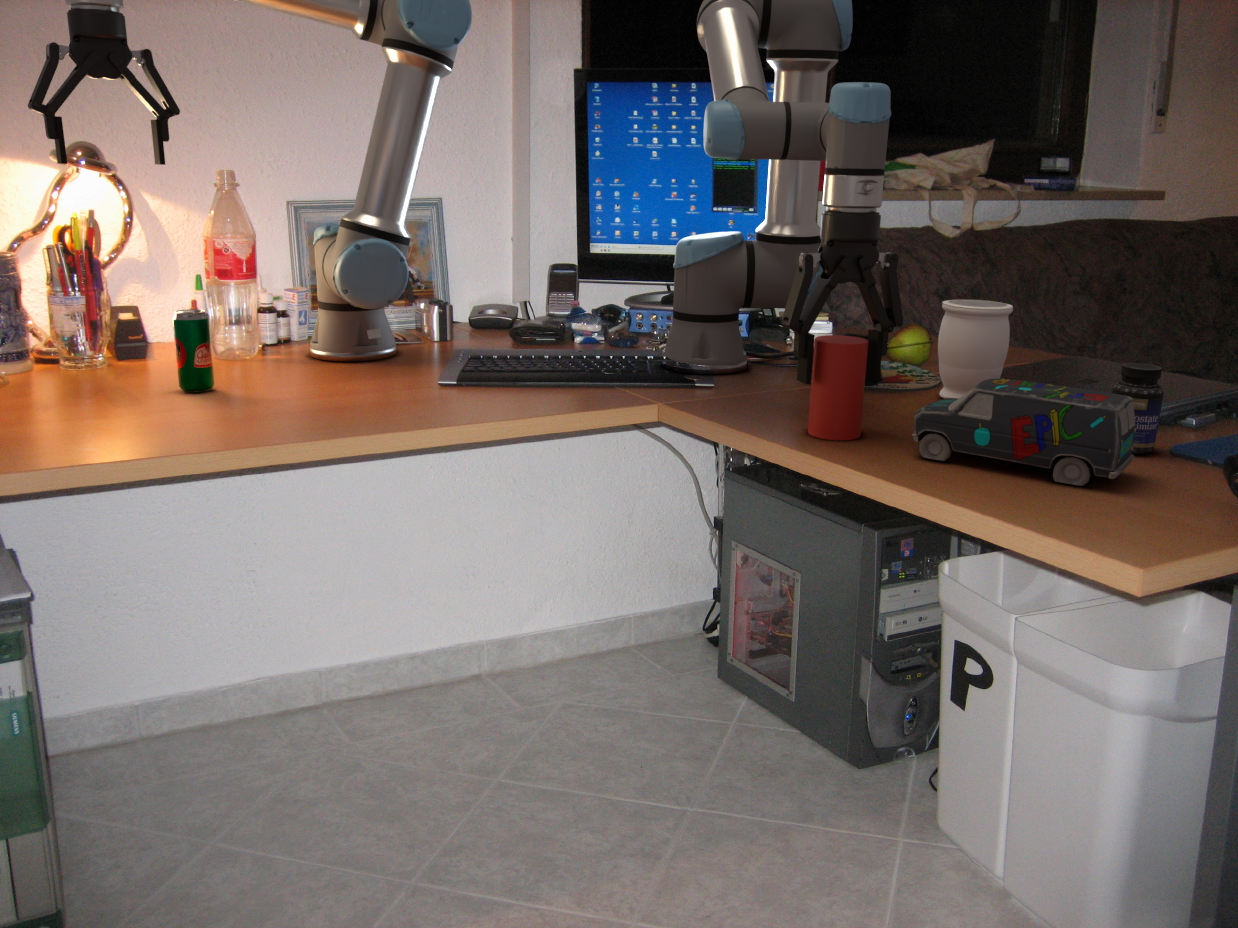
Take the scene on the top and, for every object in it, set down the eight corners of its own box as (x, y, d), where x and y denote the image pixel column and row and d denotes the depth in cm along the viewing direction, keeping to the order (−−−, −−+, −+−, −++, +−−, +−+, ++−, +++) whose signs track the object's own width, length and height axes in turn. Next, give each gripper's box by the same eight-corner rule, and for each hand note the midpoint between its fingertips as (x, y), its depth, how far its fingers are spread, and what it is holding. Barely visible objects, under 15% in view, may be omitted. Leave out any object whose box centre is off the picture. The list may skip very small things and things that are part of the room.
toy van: (935, 438, 144) (942, 365, 141) (1133, 472, 130) (1146, 392, 127) (905, 455, 135) (913, 378, 133) (1114, 493, 122) (1127, 408, 119)
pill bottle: (1117, 454, 138) (1130, 370, 135) (1094, 442, 144) (1106, 361, 140) (1163, 454, 138) (1177, 370, 135) (1139, 442, 144) (1152, 361, 141)
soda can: (202, 393, 161) (195, 314, 158) (172, 391, 162) (164, 312, 159) (221, 386, 166) (214, 309, 163) (191, 384, 167) (184, 308, 163)
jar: (918, 393, 171) (927, 299, 167) (969, 389, 175) (980, 297, 170) (963, 408, 161) (974, 309, 157) (1016, 403, 165) (1028, 306, 161)
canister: (862, 441, 142) (871, 345, 139) (809, 439, 143) (816, 343, 139) (857, 428, 149) (865, 336, 145) (806, 426, 150) (813, 334, 146)
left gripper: (1, -1, 143) (23, 164, 148) (193, 16, 157) (206, 165, 163) (-9, 4, 148) (13, 163, 154) (177, 20, 163) (190, 164, 169)
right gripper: (786, 211, 131) (775, 389, 137) (942, 211, 137) (925, 382, 144) (760, 208, 138) (751, 378, 144) (911, 208, 144) (895, 371, 150)
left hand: (112, 164), depth 159 cm, fingers open, 13 cm apart
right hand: (838, 380), depth 144 cm, fingers open, 9 cm apart
